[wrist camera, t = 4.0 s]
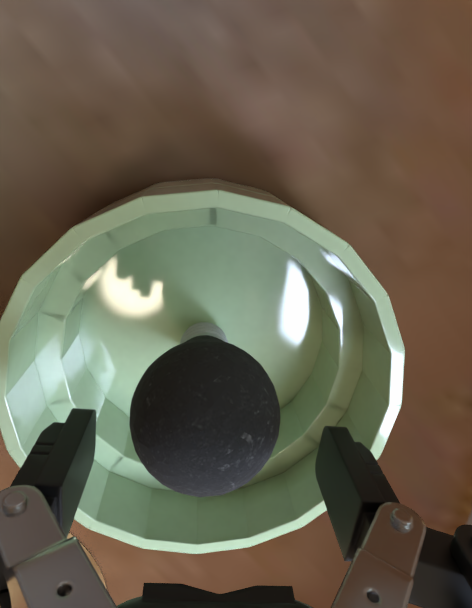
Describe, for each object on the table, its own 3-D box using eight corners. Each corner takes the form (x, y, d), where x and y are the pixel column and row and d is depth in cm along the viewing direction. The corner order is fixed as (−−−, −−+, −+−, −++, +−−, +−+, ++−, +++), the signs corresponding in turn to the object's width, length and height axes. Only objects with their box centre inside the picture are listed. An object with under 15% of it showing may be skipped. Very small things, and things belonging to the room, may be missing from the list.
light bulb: (214, 265, 22) (225, 355, 12) (276, 345, 23) (327, 477, 14) (128, 329, 22) (76, 459, 13) (194, 400, 24) (191, 561, 15)
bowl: (-17, 260, 21) (-106, 306, 15) (292, 122, 20) (333, 111, 14) (137, 494, 26) (119, 597, 20) (384, 396, 25) (443, 474, 19)
